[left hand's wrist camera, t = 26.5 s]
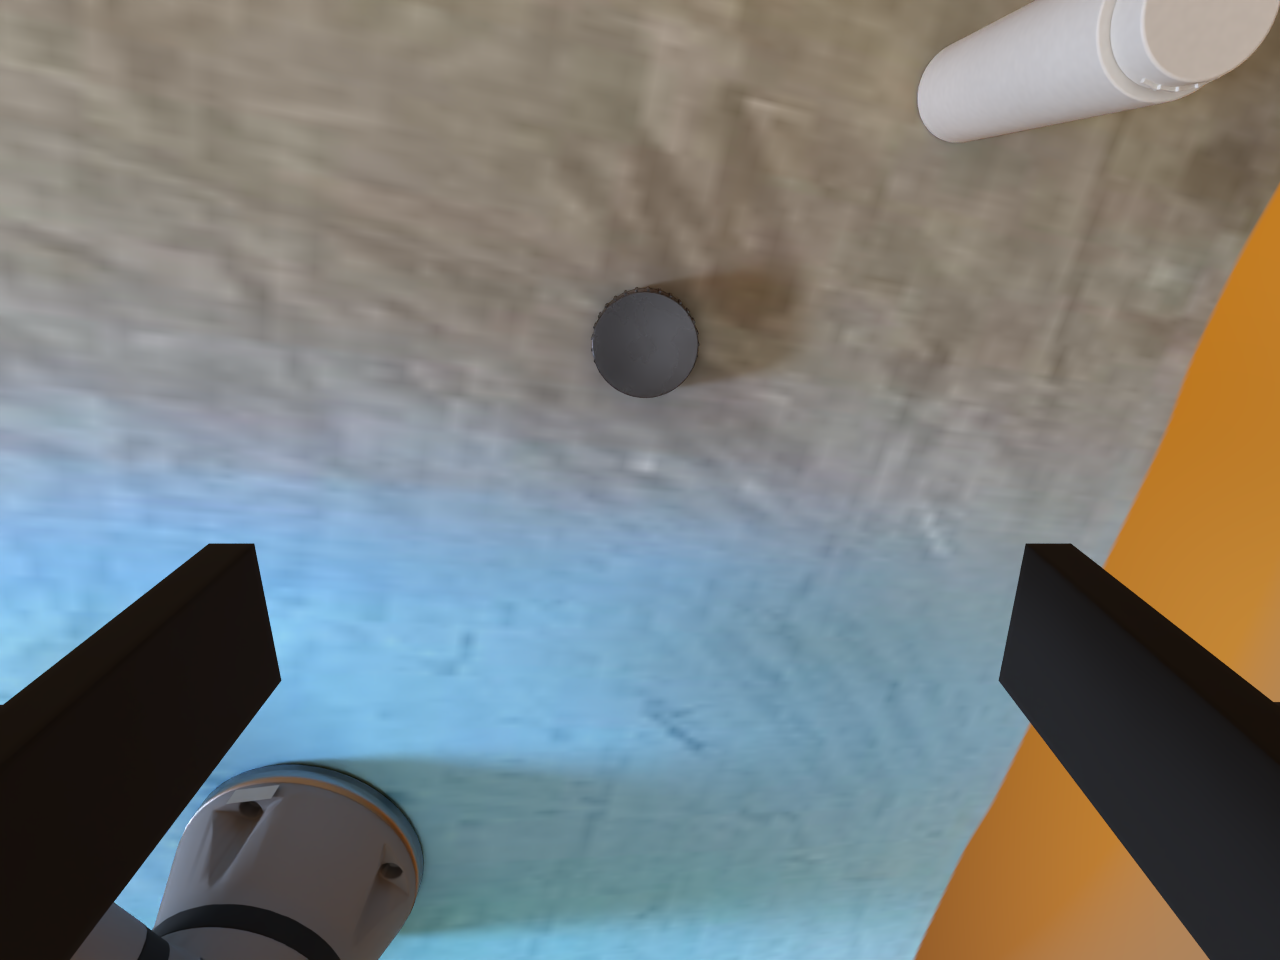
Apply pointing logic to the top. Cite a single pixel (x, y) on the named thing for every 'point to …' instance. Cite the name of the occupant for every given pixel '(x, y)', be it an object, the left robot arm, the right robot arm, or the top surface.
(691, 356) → the lid
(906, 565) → the top surface
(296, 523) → the top surface
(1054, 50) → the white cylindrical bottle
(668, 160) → the top surface
